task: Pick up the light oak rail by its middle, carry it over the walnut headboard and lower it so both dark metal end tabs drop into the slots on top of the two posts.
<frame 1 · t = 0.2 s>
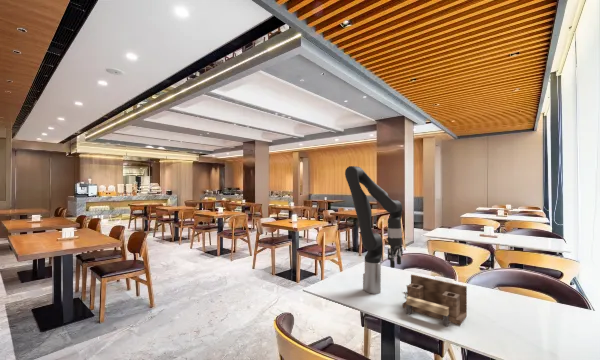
hand: (395, 265, 155), 17 cm above the table, tool pointing down, fingers open, 8 cm apart
oak rail: (426, 318, 131), on the table
metal bracket: (418, 296, 159), on the table
walnut headboard: (432, 313, 137), on the table
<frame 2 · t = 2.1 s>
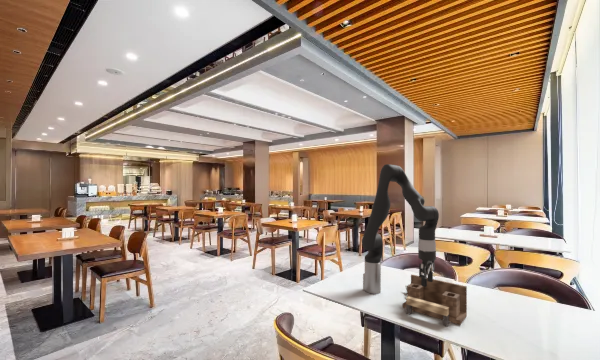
hand: (427, 283, 131), 16 cm above the table, tool pointing down, fingers open, 8 cm apart
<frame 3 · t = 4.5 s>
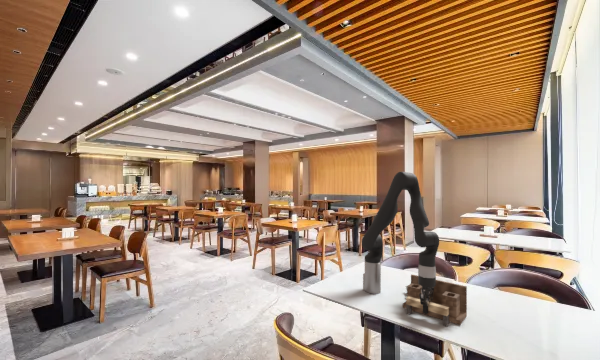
hand: (426, 311, 131), 3 cm above the table, tool pointing down, fingers closed on oak rail, 3 cm apart
oak rail: (426, 318, 131), on the table, touching gripper
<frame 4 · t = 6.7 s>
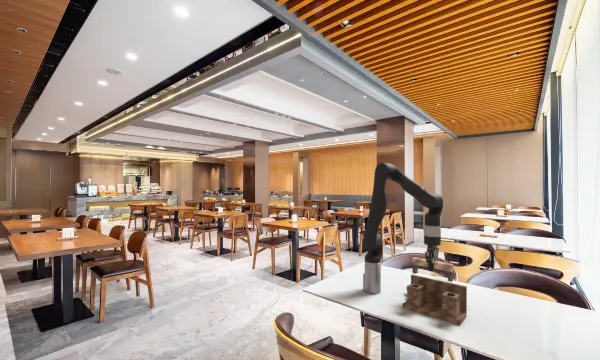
hand: (432, 270, 137), 21 cm above the table, tool pointing down, fingers closed on oak rail, 3 cm apart
oak rail: (432, 276, 137), point 18 cm above the table, touching gripper
metal bracket: (418, 298, 157), on the table, touching walnut headboard
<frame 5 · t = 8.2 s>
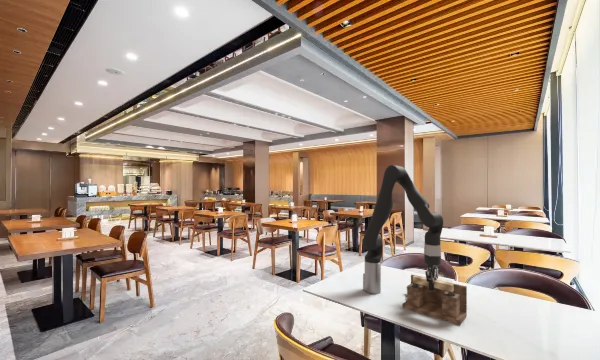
hand: (432, 289, 137), 12 cm above the table, tool pointing down, fingers closed on oak rail, 3 cm apart
oak rail: (432, 295, 137), point 8 cm above the table, touching gripper
metal bracket: (418, 298, 156), on the table
when the fingers open (11 cm above the table, at t = 9.3 s): oak rail stays where it is, resting on walnut headboard.
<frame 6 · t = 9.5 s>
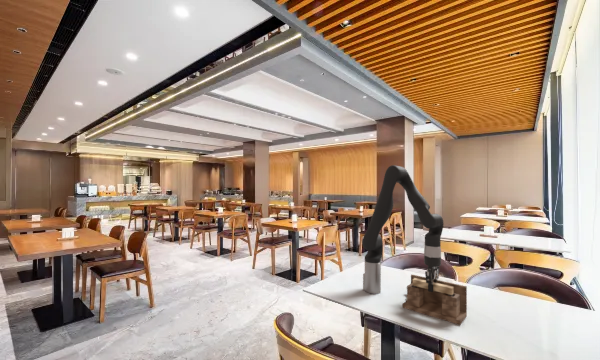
hand: (432, 289, 137), 11 cm above the table, tool pointing down, fingers open, 4 cm apart
oak rail: (432, 298, 137), point 7 cm above the table, touching walnut headboard
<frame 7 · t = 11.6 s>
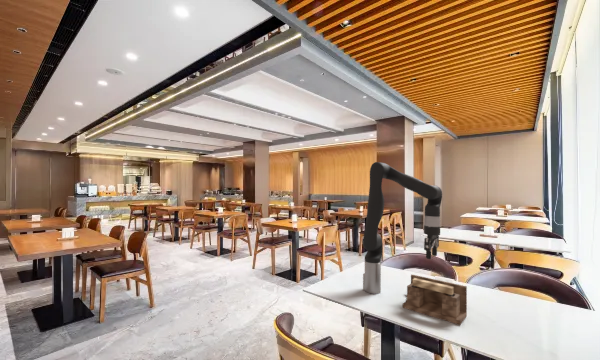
hand: (431, 257, 142), 26 cm above the table, tool pointing down, fingers open, 8 cm apart
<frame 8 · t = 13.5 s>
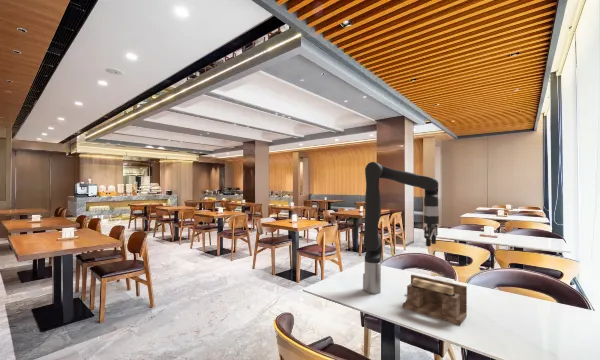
hand: (431, 244, 151), 30 cm above the table, tool pointing down, fingers open, 8 cm apart
at the end: oak rail 0.0 cm off-centre on the walnut headboard, point 7.0 cm above the walnut headboard's base; oak rail tilted 0°; the gripper is holding nothing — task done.
